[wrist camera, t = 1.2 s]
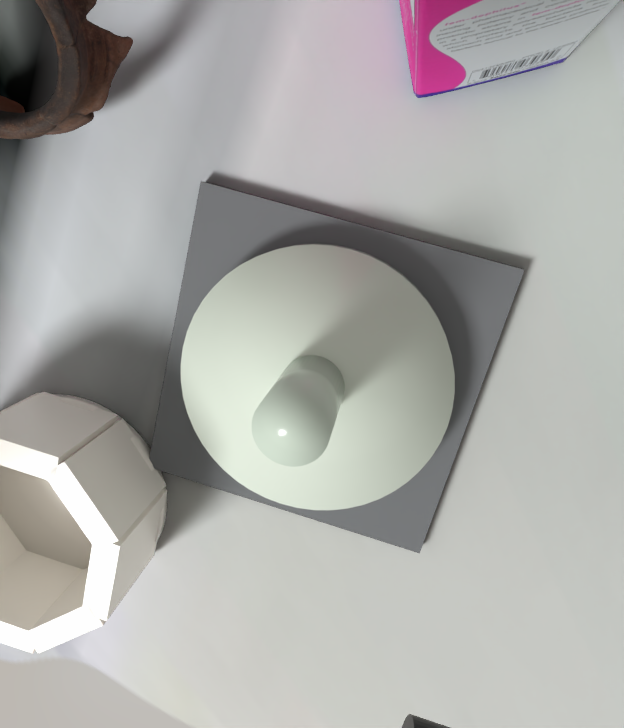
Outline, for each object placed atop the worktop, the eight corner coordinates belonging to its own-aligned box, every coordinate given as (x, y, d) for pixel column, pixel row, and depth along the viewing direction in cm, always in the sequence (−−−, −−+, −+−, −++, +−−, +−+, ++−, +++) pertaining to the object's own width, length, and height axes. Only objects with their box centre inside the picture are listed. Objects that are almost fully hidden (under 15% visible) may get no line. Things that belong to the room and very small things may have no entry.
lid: (491, 286, 23) (521, 314, 17) (405, 528, 27) (405, 619, 21) (218, 211, 24) (158, 212, 18) (170, 454, 28) (107, 521, 22)
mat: (522, 268, 23) (524, 269, 23) (419, 547, 28) (419, 553, 27) (204, 181, 24) (201, 181, 24) (151, 462, 29) (147, 466, 28)
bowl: (184, 429, 28) (134, 479, 23) (149, 600, 31) (98, 678, 26) (-12, 368, 29) (-102, 403, 24) (-26, 541, 32) (-109, 605, 27)
